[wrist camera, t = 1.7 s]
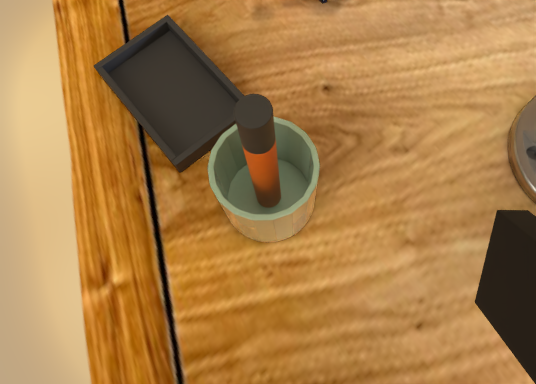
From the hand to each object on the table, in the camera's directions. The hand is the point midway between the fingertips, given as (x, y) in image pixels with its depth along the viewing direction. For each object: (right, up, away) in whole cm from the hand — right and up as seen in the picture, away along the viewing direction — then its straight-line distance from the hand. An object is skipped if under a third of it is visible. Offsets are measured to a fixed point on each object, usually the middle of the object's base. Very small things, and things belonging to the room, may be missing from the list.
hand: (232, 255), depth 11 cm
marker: (+1, +1, +31) cm, 31 cm away
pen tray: (-9, +12, +36) cm, 39 cm away
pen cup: (+1, +1, +32) cm, 32 cm away
